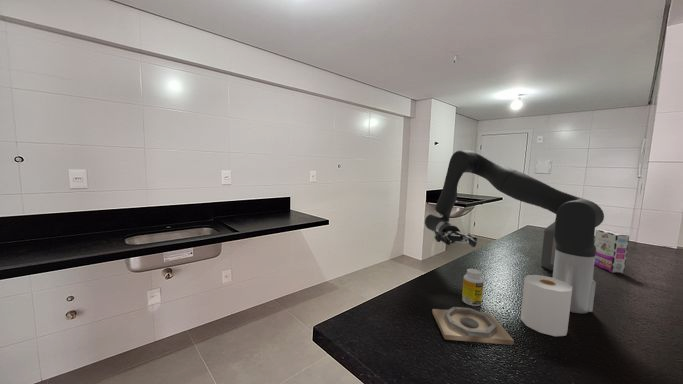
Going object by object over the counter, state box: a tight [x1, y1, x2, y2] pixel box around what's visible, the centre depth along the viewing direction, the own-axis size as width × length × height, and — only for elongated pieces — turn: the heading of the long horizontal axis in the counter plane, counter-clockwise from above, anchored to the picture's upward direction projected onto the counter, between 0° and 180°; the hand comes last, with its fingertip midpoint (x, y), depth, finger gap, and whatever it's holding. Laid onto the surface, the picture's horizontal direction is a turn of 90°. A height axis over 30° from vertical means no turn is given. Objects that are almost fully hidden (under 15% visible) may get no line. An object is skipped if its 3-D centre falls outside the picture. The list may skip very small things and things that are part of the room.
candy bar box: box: [594, 228, 630, 274], centre depth 117 cm, size 11×5×16 cm, turn 172°
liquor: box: [540, 218, 556, 272], centre depth 114 cm, size 9×9×30 cm
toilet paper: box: [520, 274, 573, 337], centre depth 72 cm, size 10×10×12 cm
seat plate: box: [431, 306, 515, 346], centre depth 70 cm, size 16×12×2 cm
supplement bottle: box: [461, 268, 484, 307], centre depth 83 cm, size 6×6×10 cm
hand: (461, 243), depth 94 cm, fingers open, 8 cm apart
